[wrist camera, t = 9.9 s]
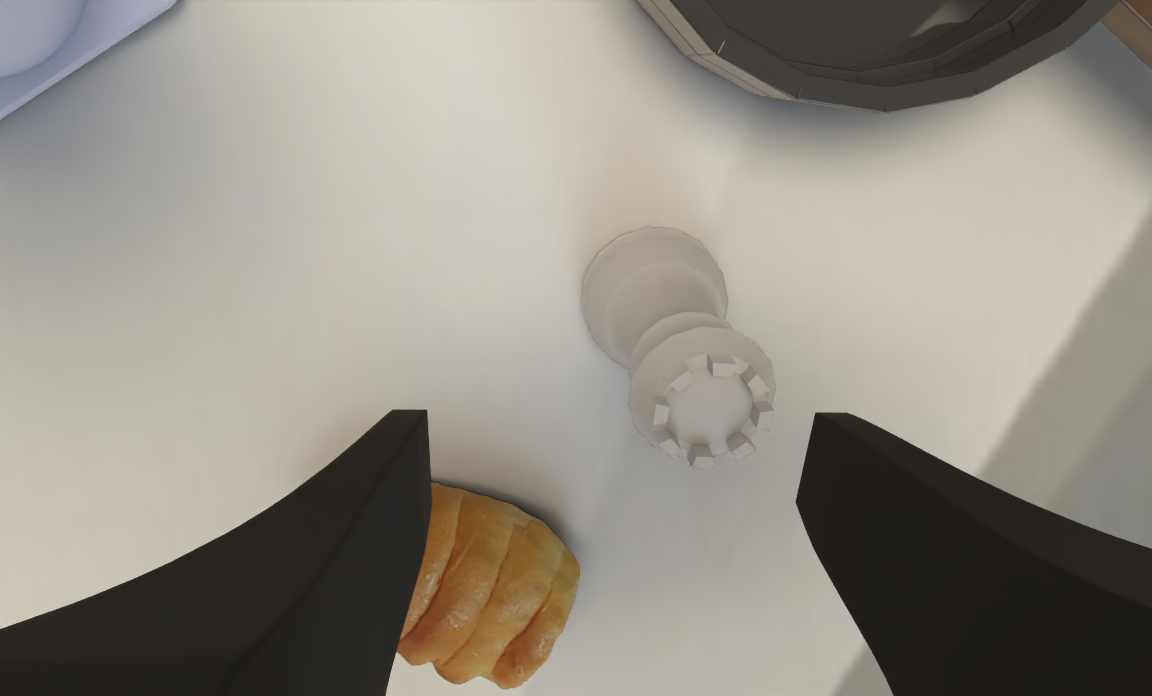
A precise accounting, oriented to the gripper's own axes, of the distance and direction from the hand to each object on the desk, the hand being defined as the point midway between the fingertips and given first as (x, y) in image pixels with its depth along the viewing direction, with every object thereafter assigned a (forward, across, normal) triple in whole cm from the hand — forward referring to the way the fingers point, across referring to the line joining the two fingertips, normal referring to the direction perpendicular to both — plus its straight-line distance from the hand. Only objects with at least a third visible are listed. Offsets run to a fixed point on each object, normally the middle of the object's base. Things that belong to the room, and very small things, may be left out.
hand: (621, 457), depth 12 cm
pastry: (+10, +4, +11) cm, 15 cm away
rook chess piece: (+10, -2, 0) cm, 10 cm away
